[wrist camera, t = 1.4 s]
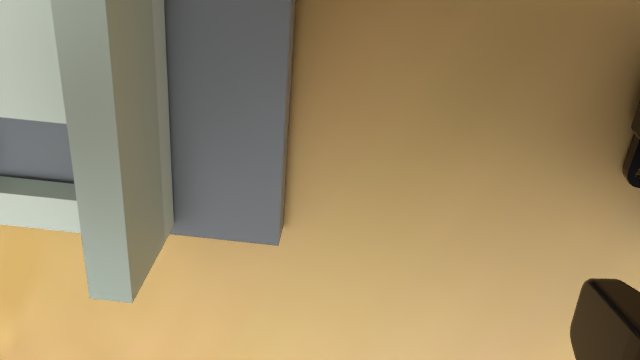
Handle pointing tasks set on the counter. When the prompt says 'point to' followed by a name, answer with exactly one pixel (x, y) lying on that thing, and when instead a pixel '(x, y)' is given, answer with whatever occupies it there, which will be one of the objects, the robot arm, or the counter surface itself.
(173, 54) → the board
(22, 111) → the panel
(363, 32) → the counter surface
